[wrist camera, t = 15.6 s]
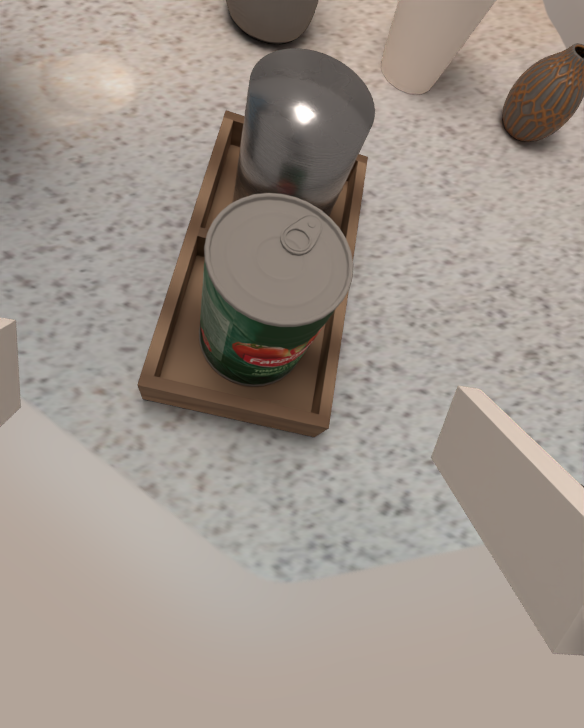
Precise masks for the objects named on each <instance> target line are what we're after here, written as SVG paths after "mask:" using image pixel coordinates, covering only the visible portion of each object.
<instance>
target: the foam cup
mask: <svg viewBox="0 0 584 728" xmlns="http://www.w3.org/2000/svg"><path fill="white" fill-rule="evenodd" d="M495 1H496V0H398V4H397V7H396V11H395V14H394V18H393V21H392V25H391V28H390V32H389V35H388V39H387V42H386V46H385V49H384V53H383V58H382V61H381V70H382V73H383V74H384V76H385V78H386V79H387V81H388V82H390V83H391V84H392V85H393V86H394V87H396V88H397V89H399V90H401V91H404V92H406V93H408V94H423V93H425V92H428V91H429V90H430V88H431V87H432V86H433V85H434V84H435V82H436V81H437V80H438V78H439V77H440V76H441V74H442V73H443V72H444V70H445V69H446V68H447V66H448V65H449V64H450V62H451V61H452V59H453V58H454V57H455V55H456V54H457V53H458V51H459V50H460V49H461V47H462V46H463V45H464V43H465V42H466V41H467V39H468V38H469V37H470V35H471V34H472V32H473V31H474V30H475V28H476V27H477V26H478V24H479V23H480V22H481V20H482V19H483V18H484V16H485V15H486V14H487V12H488V11H489V10H490V8H491V7H492V5H493V4H494V3H495Z"/></svg>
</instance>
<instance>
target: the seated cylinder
mask: <svg viewBox="0 0 584 728" xmlns="http://www.w3.org/2000/svg"><path fill="white" fill-rule="evenodd" d="M374 117H375V108H374V102H373V98H372V96H371V94H370V92H369V90H368V88H367V86H366V85H365V84H364V82H363V81H362V80H361V78H360V77H359V76H358V75H357V74H356V73H355V72H354V71H352V70H351V69H350V68H349V67H347V66H346V65H345V64H343V63H342V62H340V61H338V60H336V59H335V58H333V57H331V56H328V55H326V54H323V53H320V52H317V51H313V50H308V49H300V48H291V49H282V50H278V51H275V52H272V53H270V54H268V55H266V56H265V57H263V58H262V59H261V60H260V61H259V62H258V63H257V64H256V65H255V67H254V68H253V70H252V73H251V76H250V81H249V89H248V96H247V103H246V110H245V117H244V124H243V131H242V138H241V145H240V153H239V160H238V167H237V174H236V181H235V188H234V195H233V202H235V201H237V200H239V199H241V198H244V197H247V196H250V195H254V194H263V193H275V194H284V195H289V196H293V197H296V198H299V199H301V200H304V201H306V202H309V203H310V204H312V205H314V206H315V207H317V208H319V209H320V210H322V211H323V212H324V213H325V214H326V215H328V216H330V214H331V212H332V209H333V207H334V205H335V203H336V201H337V199H338V197H339V195H340V192H341V190H342V188H343V186H344V184H345V182H346V180H347V178H348V175H349V173H350V171H351V169H352V167H353V165H354V163H355V161H356V158H357V156H358V154H359V152H360V150H361V148H362V146H363V144H364V141H365V139H366V137H367V135H368V133H369V131H370V129H371V126H372V124H373V121H374ZM233 202H232V203H233Z"/></svg>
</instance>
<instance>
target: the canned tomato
mask: <svg viewBox="0 0 584 728" xmlns="http://www.w3.org/2000/svg"><path fill="white" fill-rule="evenodd" d="M204 254H205V261H204V272H203V286H202V300H201V315H200V328H199V342H200V346H201V350H202V353H203V355H204V357H205V359H206V361H207V362H208V363H209V365H210V366H211V367H212V368H213V370H215V371H216V372H217V373H218V374H219V375H220V376H222V377H223V378H225V379H227V380H229V381H230V382H233V383H236V384H239V385H243V386H250V387H255V386H265V385H269V384H273V383H275V382H277V381H279V380H281V379H283V378H284V377H285V376H287V375H288V374H289V373H290V372H291V371H292V370H293V369H294V368H295V366H296V365H297V363H298V361H299V360H300V359H301V357H302V356H303V355H304V353H305V352H306V350H307V349H308V347H309V346H310V345H311V343H312V342H313V341H314V339H315V338H316V336H317V335H318V333H319V332H320V331H321V329H322V328H323V327H324V325H325V323H326V322H327V321H328V320H329V318H330V316H331V315H332V314H333V312H334V310H335V309H336V308H337V307H338V306H339V304H340V303H341V302H342V301H343V300H344V298H345V296H346V294H347V292H348V290H349V288H350V284H351V281H352V277H353V260H352V254H351V250H350V247H349V245H348V242H347V240H346V238H345V236H344V235H343V233H342V231H341V230H340V228H339V227H338V226H337V225H336V224H335V222H334V221H333V220H332V219H331V218H330V217H329V216H328V215H326V214H325V213H324V212H323V211H322V210H320V209H319V208H317V207H315V206H314V205H312V204H310V203H309V202H306V201H304V200H301V199H299V198H296V197H293V196H289V195H284V194H275V193H263V194H254V195H250V196H247V197H244V198H241V199H239V200H237V201H235V202H233V203H231V204H229V205H228V206H227V207H226V208H225V209H223V210H222V211H221V212H220V213H219V214H218V215H217V217H216V218H215V219H214V221H213V222H212V224H211V226H210V228H209V231H208V233H207V236H206V241H205V246H204Z"/></svg>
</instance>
